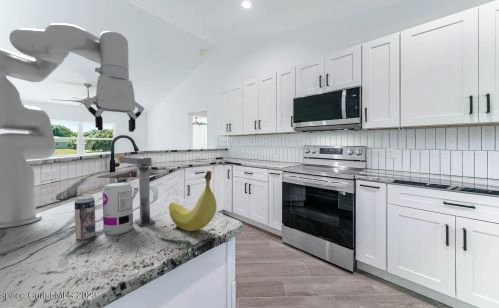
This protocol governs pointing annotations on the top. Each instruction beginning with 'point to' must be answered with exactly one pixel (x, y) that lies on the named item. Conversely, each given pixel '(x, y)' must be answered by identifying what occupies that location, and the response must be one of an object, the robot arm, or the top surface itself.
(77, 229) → the beer can
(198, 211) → the banana
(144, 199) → the post
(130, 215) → the supplement can
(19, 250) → the top surface
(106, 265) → the top surface
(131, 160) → the swing arm
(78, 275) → the top surface
